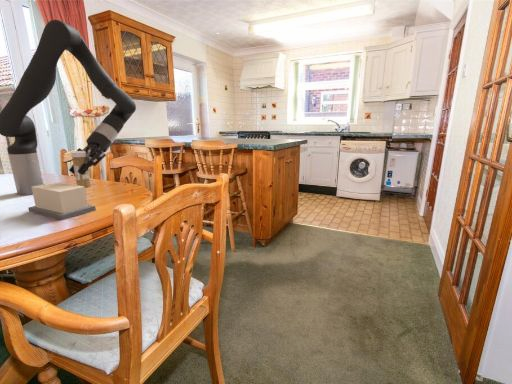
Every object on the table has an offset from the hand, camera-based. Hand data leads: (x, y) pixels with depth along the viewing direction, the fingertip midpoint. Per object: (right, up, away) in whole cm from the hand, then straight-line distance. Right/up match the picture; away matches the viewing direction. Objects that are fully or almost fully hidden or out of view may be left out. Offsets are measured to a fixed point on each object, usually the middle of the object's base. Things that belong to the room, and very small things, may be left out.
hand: (76, 172), depth 94 cm
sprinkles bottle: (+1, -5, +3) cm, 6 cm away
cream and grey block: (-2, -14, -4) cm, 14 cm away
